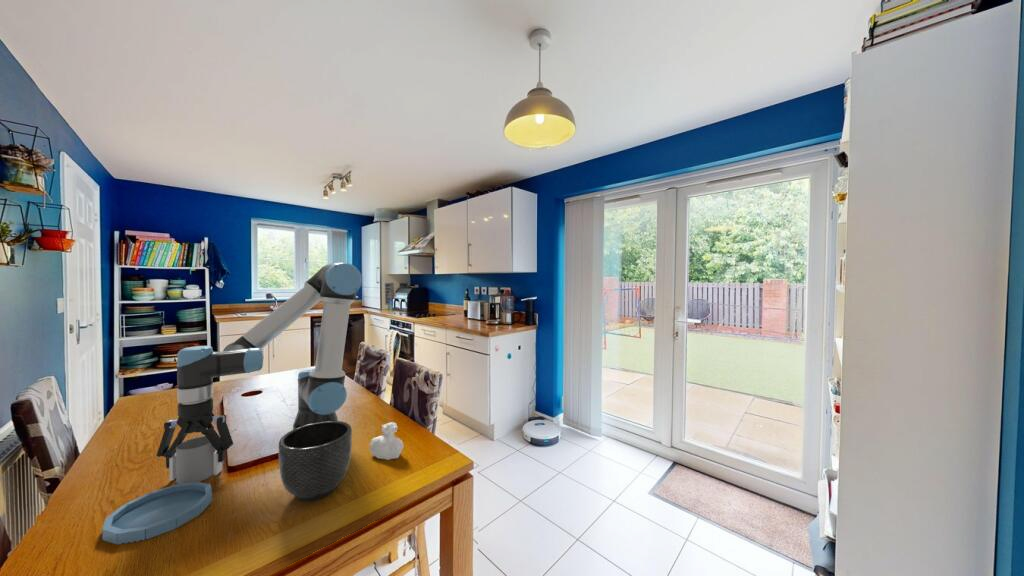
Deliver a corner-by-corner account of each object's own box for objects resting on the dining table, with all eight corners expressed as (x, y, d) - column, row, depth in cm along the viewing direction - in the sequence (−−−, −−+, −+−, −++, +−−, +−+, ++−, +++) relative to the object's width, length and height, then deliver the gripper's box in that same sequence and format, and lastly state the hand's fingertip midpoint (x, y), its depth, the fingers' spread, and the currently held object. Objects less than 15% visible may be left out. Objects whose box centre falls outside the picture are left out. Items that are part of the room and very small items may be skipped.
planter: (299, 523, 78) (298, 456, 78) (266, 497, 88) (266, 438, 87) (364, 485, 93) (364, 429, 93) (330, 466, 102) (330, 415, 102)
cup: (191, 486, 92) (190, 451, 92) (168, 482, 93) (168, 448, 93) (223, 469, 100) (222, 437, 100) (201, 466, 102) (201, 434, 102)
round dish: (226, 486, 92) (226, 477, 92) (181, 533, 75) (181, 523, 75) (144, 497, 87) (144, 488, 87) (77, 551, 70) (76, 540, 70)
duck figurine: (404, 463, 108) (415, 427, 115) (393, 459, 102) (405, 421, 109) (372, 459, 111) (384, 424, 117) (360, 454, 105) (373, 418, 111)
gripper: (247, 392, 103) (247, 463, 103) (157, 398, 97) (158, 473, 97) (234, 401, 96) (235, 476, 96) (136, 408, 90) (137, 489, 90)
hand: (196, 475), depth 97 cm, fingers open, 10 cm apart
